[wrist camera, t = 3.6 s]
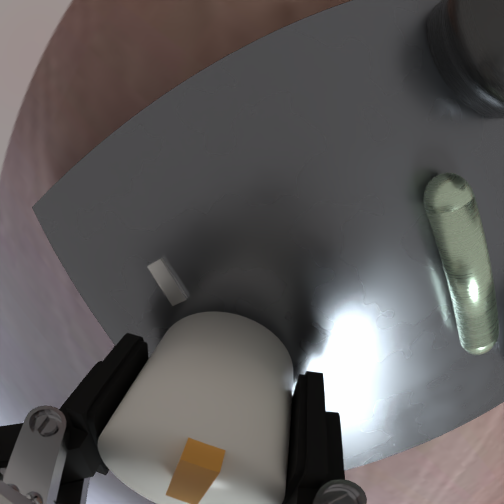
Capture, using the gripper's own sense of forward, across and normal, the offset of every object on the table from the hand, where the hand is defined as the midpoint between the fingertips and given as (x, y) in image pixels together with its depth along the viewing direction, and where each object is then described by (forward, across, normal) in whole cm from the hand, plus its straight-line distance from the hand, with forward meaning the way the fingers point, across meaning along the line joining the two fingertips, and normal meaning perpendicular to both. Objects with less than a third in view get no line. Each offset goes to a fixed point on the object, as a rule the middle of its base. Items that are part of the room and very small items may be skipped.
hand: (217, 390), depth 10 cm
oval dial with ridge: (+1, 0, 0) cm, 1 cm away
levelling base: (+3, -5, -4) cm, 7 cm away
